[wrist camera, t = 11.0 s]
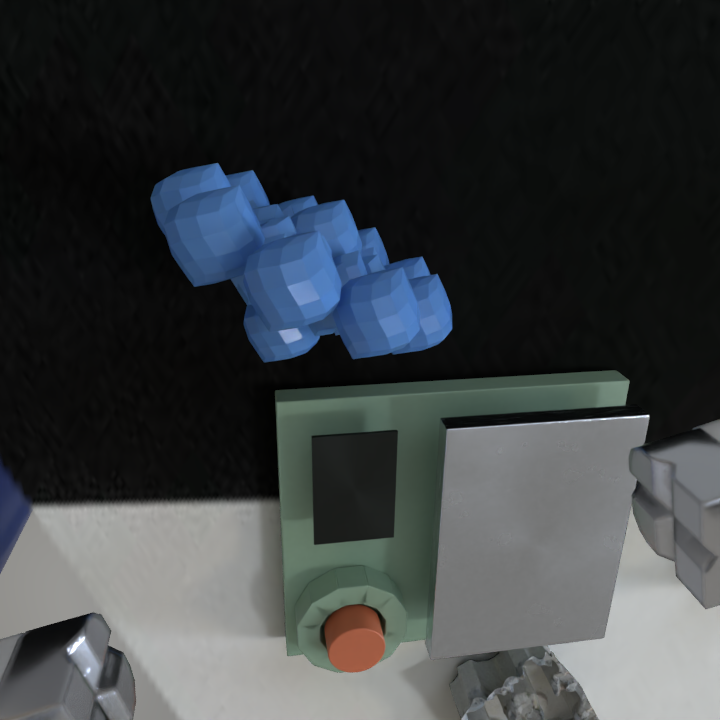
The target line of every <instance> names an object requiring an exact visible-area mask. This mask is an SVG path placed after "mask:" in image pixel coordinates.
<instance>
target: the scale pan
mask: <svg viewBox="0 0 720 720" xmlns="http://www.w3.org/2000/svg"><path fill="white" fill-rule="evenodd" d="M649 417H650V415H649V414H648V413H647V412H645V411H644V410H643V409H642V408H640V407H639V406H638V405H621V406H606V407H592V408H577V409H562V410H547V411H533V412H518V413H503V414H488V415H474V416H459V417H444V418H440V425H439V441H438V456H437V471H436V486H435V502H434V517H433V532H432V547H431V563H430V578H429V593H428V609H427V624H426V639H425V644H426V647H427V650H428V653H429V657H430V659H431V660H435V659H443V658H451V657H459V656H467V655H474V654H482V653H490V652H498V651H506V650H514V649H522V648H530V647H538V646H545V645H553V644H561V643H569V642H577V641H585V640H593V639H601V638H604V636H605V631H606V626H607V621H608V616H609V612H610V607H611V602H612V597H613V592H614V587H615V582H616V578H617V573H618V568H619V563H620V558H621V553H622V548H623V544H624V539H625V534H626V529H627V524H628V519H629V514H630V510H631V505H632V498H631V495H632V493H633V491H634V490H635V485H636V481H637V479H636V478H635V477H634V476H633V475H632V474H631V473H630V472H629V459H628V457H629V454H630V450H631V448H634V447H638V446H641V445H644V442H645V437H646V432H647V427H648V422H649ZM311 440H312V487H313V535H314V545H320V544H330V543H341V542H351V541H362V540H372V539H382V538H393V537H394V525H395V498H396V472H397V445H398V431H397V430H385V431H371V432H357V433H343V434H328V435H314V436H311Z"/></svg>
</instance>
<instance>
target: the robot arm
mask: <svg viewBox="0 0 720 720" xmlns="http://www.w3.org/2000/svg"><path fill="white" fill-rule="evenodd" d="M628 459H629V472H630V473H631V474H632V475H633V476H634V477H635V478H636V479H637V480H638V481H639V483H638V484H637V486H636V488H635V490H634V491H633V493H632V495H631V498H632V507H633V514H634V517H635V519H636V522H637V525H638V527H639V530H640V532H641V534H642V535H643V537H644V538H645V540H646V542H647V543H648V544H649V546H650V547H651V548H652V549H653V550H654V551H655V553H656V554H657V555H659V556H661V557H664V558H667V559H669V560H672V561H675V567H676V577H677V578H678V579H679V580H680V581H681V582H682V583H683V584H684V585H685V587H686V588H687V589H688V590H689V591H690V592H691V593H692V594H693V596H694V597H695V598H696V599H697V600H698V601H699V602H700V603H701V604H702V606H703V607H704V608H705V609H708V608H712V607H715V606H718V605H720V419H719V420H716V421H713V422H710V423H707V424H704V425H701V426H698V427H695V428H693V430H689V431H686V432H683V433H679V434H676V435H673V436H670V437H667V438H663V439H660V440H657V441H654V442H650V443H647V444H644V445H641V446H638V447H634V448H631V450H630V454H629V457H628ZM110 634H111V630H110V628H109V626H108V625H107V623H106V621H105V620H104V618H103V617H102V615H101V614H96V613H90V614H86V615H82V616H79V617H76V618H72V619H68V620H65V621H61V622H58V623H54V624H51V625H47V626H43V627H40V628H36V629H33V630H29V631H26V632H25V633H20V634H17V635H13V636H10V637H6V638H3V639H0V720H133V717H134V710H135V704H136V696H135V682H134V681H135V680H134V677H133V673H132V670H131V667H130V664H129V662H128V660H127V658H126V657H125V655H124V653H123V652H121V651H119V650H116V649H115V648H112V647H110V646H108V642H109V638H110Z"/></svg>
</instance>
